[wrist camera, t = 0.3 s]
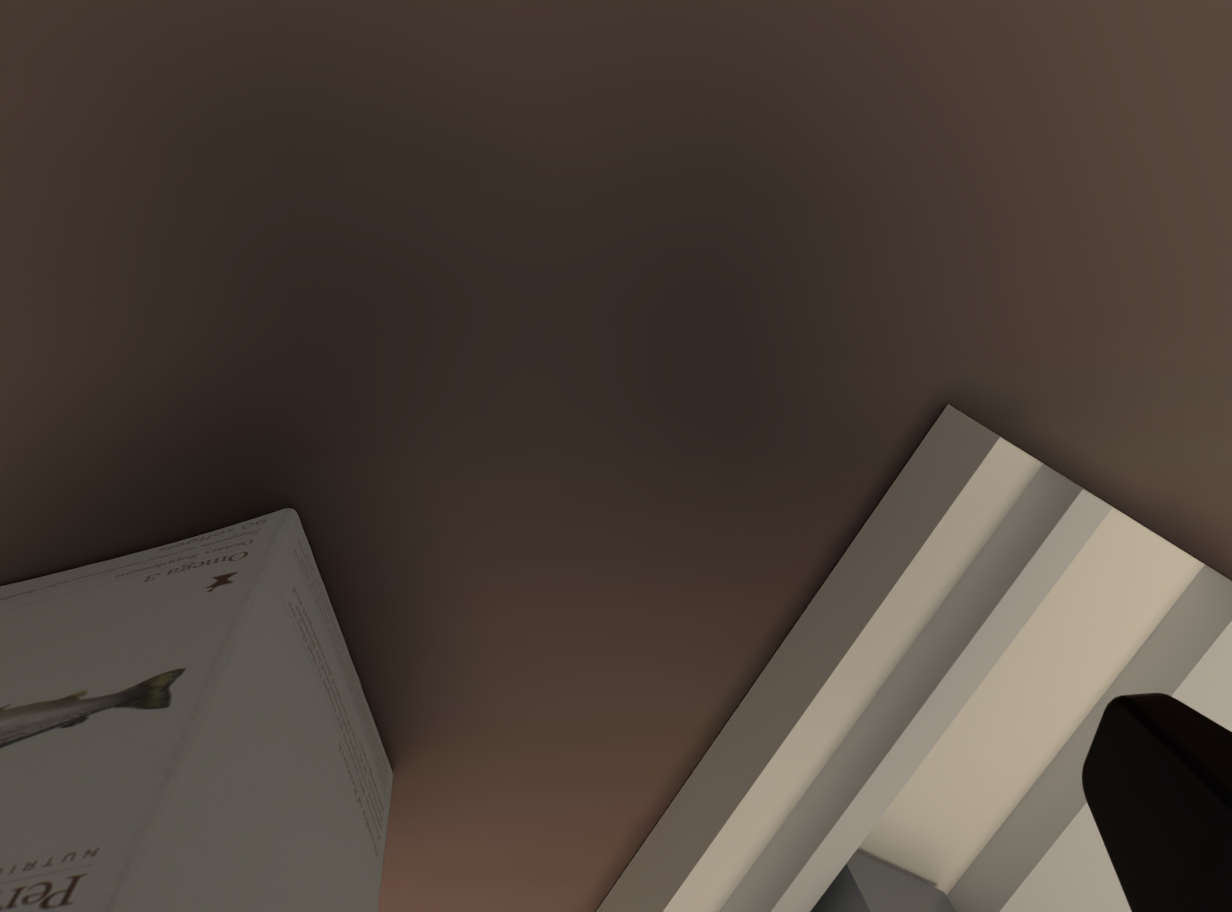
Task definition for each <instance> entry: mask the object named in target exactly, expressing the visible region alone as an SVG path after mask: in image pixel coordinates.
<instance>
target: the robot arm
mask: <svg viewBox="0 0 1232 912" xmlns="http://www.w3.org/2000/svg"><path fill="white" fill-rule="evenodd" d="M1082 786H1083V790H1084V795H1085V798H1086V801H1087V804H1088V806H1089V808H1090V811H1091V813H1092V816H1093V818H1094V821H1095V823H1096V826H1097V828H1098V831H1099V833H1100V835H1101V838H1102V840H1103V843H1104V845H1105V848H1106V850H1107V853H1108V855H1109V858H1110V860H1111V862H1112V865H1113V867H1114V870H1115V872H1116V875H1117V877H1118V880H1119V882H1120V885H1121V887H1122V889H1123V892H1124V894H1125V897H1126V899H1127V902H1128V904H1129V907H1130V909H1131V912H1232V732H1231V731H1229V730H1228V729H1226V728H1224V727H1223V726H1221V725H1219V724H1217V723H1216V722H1214V721H1212V720H1211V719H1209V718H1207V717H1206V716H1204V715H1202V714H1201V713H1199V712H1197V711H1196V710H1194V709H1192V708H1191V707H1189V706H1187V705H1186V704H1184V703H1182V702H1181V701H1179V700H1177V699H1175V698H1173V697H1172V696H1170V695H1167V694H1163V693H1144V694H1131V695H1120V696H1117V697H1115V698H1114V699H1112V700H1111V701H1110V702H1109V703H1108V704H1107V706H1106V708H1105V710H1104V712H1103V715H1102V717H1101V720H1100V722H1099V725H1098V728H1097V730H1096V733H1095V735H1094V738H1093V741H1092V743H1091V746H1090V748H1089V751H1088V753H1087V756H1086V759H1085V761H1084V764H1083V769H1082Z"/></svg>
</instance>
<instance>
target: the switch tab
mask: <svg viewBox="0 0 1232 912" xmlns="http://www.w3.org/2000/svg"><path fill="white" fill-rule="evenodd" d="M810 912H956V911H955V909H954V908H953V906H952V904H951V903H950V901H949V899H948V898H947V896H946V894H945V893H944V892H943V891H941V890H939V889H936V888H934V887H932V886H930V885H928V884H925V883H923V882H921V881H919V880H917V879H915V878H912V877H910V876H908V875H906V874H904V873H902V872H899V871H897V870H895V869H893V868H891V867H888V866H886V865H884V864H882V863H880V862H878V861H875V860H873V859H871V858H869V857H867V856H865V855H862V854H860V853H858V852H856V851H855V852H854V854H853V855H852V856H851V858H850V859H849V860H848V862H847V863H846V864H845V866H844V867H843V868H842V870H841V871H840V872H839V874H838V875H837V876H836V878H835V879H834V880H833V882H832V883H831V884H830V886H829V887H828V888H827V890H826V891H825V892H824V894H823V895H822V896H821V898H820V899H819V900H818V902H817V903H816V905H815V906H814V907H813V909H812V910H811V911H810Z"/></svg>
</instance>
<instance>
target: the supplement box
mask: <svg viewBox="0 0 1232 912" xmlns="http://www.w3.org/2000/svg"><path fill="white" fill-rule="evenodd" d="M392 783H393V772H392V769H391V767H390V764H389V761H388V758H387V755H386V753H385V750H384V747H383V745H382V742H381V739H380V736H379V733H378V730H377V728H376V725H375V722H374V720H373V717H372V714H371V712H370V709H369V706H368V703H367V701H366V698H365V696H364V693H363V690H362V687H361V684H360V681H359V678H358V675H357V673H356V670H355V668H354V665H353V663H352V660H351V657H350V655H349V652H348V649H347V646H346V643H345V640H344V637H343V635H342V632H341V629H340V627H339V624H338V621H337V619H336V616H335V613H334V611H333V608H332V606H331V603H330V600H329V597H328V594H327V591H326V588H325V586H324V583H323V581H322V578H321V576H320V573H319V571H318V568H317V565H316V563H315V560H314V557H313V554H312V551H311V548H310V545H309V543H308V540H307V538H306V535H305V533H304V530H303V528H302V525H301V522H300V519H299V516H298V514H297V512H296V511H295V510H294V509H291V508H285V509H282V510H279V511H276V512H273V513H270V514H267V515H264V516H261V517H257V518H254V519H251V520H248V521H245V522H241V523H238V524H235V525H232V526H229V527H225V528H222V529H219V530H216V531H212V532H209V533H205V534H202V535H198V536H195V537H191V538H188V539H185V540H181V541H178V542H174V543H171V544H167V545H163V546H160V547H156V548H152V549H148V550H145V551H141V552H137V553H133V554H129V555H126V556H122V557H118V558H114V559H111V560H107V561H103V562H98V563H94V564H90V565H86V566H82V567H79V568H75V569H71V570H67V571H63V572H59V573H55V574H51V575H47V576H43V577H39V578H35V579H30V580H26V581H22V582H17V583H13V584H9V585H4V586H0V912H377V910H378V902H379V894H380V886H381V878H382V870H383V860H384V850H385V843H386V835H387V826H388V818H389V810H390V802H391V793H392Z"/></svg>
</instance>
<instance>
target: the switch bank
mask: <svg viewBox="0 0 1232 912" xmlns="http://www.w3.org/2000/svg"><path fill="white" fill-rule="evenodd" d="M1144 693H1163V694H1167V695H1170V696H1172V697H1173V698H1175V699H1177V700H1179V701H1181V702H1182V703H1184V704H1186V705H1187V706H1189V707H1191V708H1192V709H1194V710H1196V711H1197V712H1199V713H1201V714H1202V715H1204V716H1206V717H1207V718H1209V719H1211V720H1212V721H1214V722H1216V723H1217V724H1219V725H1221V726H1223V727H1224V728H1226V729H1228V730H1229V731H1231V732H1232V581H1231V580H1229V579H1228V578H1226V577H1225V576H1223V575H1221V574H1220V573H1218V572H1217V571H1215V570H1213V569H1212V568H1210V567H1208V566H1207V565H1205V564H1204V563H1202V562H1200V561H1199V560H1197V559H1196V558H1194V557H1192V556H1191V555H1189V554H1188V553H1186V552H1184V551H1183V550H1181V549H1180V548H1178V547H1176V546H1175V545H1173V544H1172V543H1170V542H1168V541H1167V540H1165V539H1164V538H1162V537H1160V536H1159V535H1157V534H1156V533H1154V532H1152V531H1151V530H1149V529H1148V528H1146V527H1144V526H1143V525H1141V524H1140V523H1138V522H1136V521H1135V520H1133V519H1132V518H1130V517H1128V516H1127V515H1125V514H1124V513H1122V512H1120V511H1119V510H1117V509H1116V508H1114V507H1112V506H1111V505H1109V504H1108V503H1106V502H1104V501H1103V500H1101V499H1099V498H1098V497H1096V496H1095V495H1093V494H1091V493H1090V492H1088V491H1087V490H1085V489H1083V488H1082V487H1080V486H1079V485H1077V484H1075V483H1074V482H1072V481H1071V480H1069V479H1067V478H1066V477H1064V476H1063V475H1061V474H1059V473H1058V472H1056V471H1055V470H1053V469H1051V468H1050V467H1048V466H1047V465H1045V464H1043V463H1042V462H1040V461H1039V460H1037V459H1035V458H1034V457H1032V456H1031V455H1029V454H1027V453H1026V452H1024V451H1023V450H1021V449H1019V448H1018V447H1016V446H1015V445H1013V444H1011V443H1010V442H1008V441H1007V440H1005V439H1003V438H1002V437H1000V436H999V435H997V434H995V433H994V432H992V431H991V430H989V429H987V428H986V427H984V426H982V425H981V424H979V423H978V422H976V421H974V420H973V419H971V418H970V417H968V416H966V415H965V414H963V413H962V412H960V411H958V410H957V409H955V408H954V407H952V406H950V405H949V404H948V405H947V406H946V408H945V409H944V411H943V412H942V413H941V415H940V416H939V418H938V419H937V421H936V422H935V424H934V425H933V426H932V428H931V429H930V431H929V432H928V434H927V435H926V437H925V438H924V439H923V441H922V442H921V444H920V445H919V447H918V448H917V449H916V451H915V452H914V454H913V455H912V457H911V458H910V460H909V461H908V462H907V464H906V465H905V467H904V468H903V470H902V471H901V473H900V474H899V475H898V477H897V478H896V480H895V481H894V483H893V484H892V486H891V487H890V488H889V490H888V491H887V493H886V494H885V496H884V497H883V499H882V500H881V501H880V503H879V504H878V506H877V507H876V509H875V510H874V512H873V513H872V514H871V516H870V517H869V519H868V520H867V522H866V523H865V524H864V526H863V527H862V529H861V530H860V532H859V533H858V535H857V536H856V537H855V539H854V540H853V542H852V543H851V545H850V546H849V548H848V549H847V550H846V552H845V553H844V555H843V556H842V558H841V559H840V561H839V562H838V563H837V565H836V566H835V568H834V569H833V571H832V572H831V574H830V575H829V576H828V578H827V579H826V581H825V582H824V584H823V585H822V586H821V588H820V589H819V591H818V592H817V594H816V595H815V597H814V598H813V599H812V601H811V602H810V604H809V605H808V607H807V608H806V610H805V611H804V612H803V614H802V615H801V617H800V618H799V620H798V621H797V623H796V624H795V625H794V627H793V628H792V630H791V631H790V633H789V634H788V636H787V637H786V638H785V640H784V641H783V643H782V644H781V646H780V647H779V649H778V650H777V651H776V653H775V654H774V656H773V657H772V659H771V660H770V661H769V663H768V664H767V666H766V667H765V669H764V670H763V672H762V673H761V674H760V676H759V677H758V679H757V680H756V682H755V683H754V685H753V686H752V687H751V689H750V690H749V692H748V693H747V695H746V696H745V698H744V699H743V700H742V702H741V703H740V705H739V706H738V708H737V709H736V711H735V712H734V713H733V715H732V716H731V718H730V719H729V721H728V722H727V724H726V725H725V726H724V728H723V729H722V731H721V732H720V734H719V735H718V736H717V738H716V739H715V741H714V742H713V744H712V745H711V747H710V748H709V749H708V751H707V752H706V754H705V755H704V757H703V758H702V760H701V761H700V762H699V764H698V765H697V767H696V768H695V770H694V771H693V773H692V774H691V775H690V777H689V778H688V780H687V781H686V783H685V784H684V786H683V787H682V788H681V790H680V791H679V793H678V794H677V796H676V797H675V799H674V800H673V801H672V803H671V804H670V806H669V807H668V809H667V810H666V811H665V813H664V814H663V816H662V817H661V819H660V820H659V822H658V823H657V824H656V826H655V827H654V829H653V830H652V832H651V833H650V835H649V836H648V837H647V839H646V840H645V842H644V843H643V845H642V846H641V848H640V849H639V850H638V852H637V853H636V855H635V856H634V858H633V859H632V861H631V862H630V863H629V865H628V866H627V868H626V869H625V871H624V872H623V874H622V875H621V876H620V878H619V879H618V881H617V882H616V884H615V885H614V886H613V888H612V889H611V891H610V892H609V894H608V895H607V897H606V898H605V899H604V901H603V902H602V904H601V905H600V907H599V908H598V910H597V911H596V912H810V911H811V910H812V909H813V907H814V906H815V905H816V903H817V902H818V900H819V899H820V898H821V896H822V895H823V894H824V892H825V891H826V890H827V888H828V887H829V886H830V884H831V883H832V882H833V880H834V879H835V878H836V876H837V875H838V874H839V872H840V871H841V870H842V868H843V867H844V866H845V864H846V863H847V862H848V860H849V859H850V858H851V856H852V855H853V854H854V852H855V851H856V852H858V853H860V854H862V855H865V856H867V857H869V858H871V859H873V860H875V861H878V862H880V863H882V864H884V865H886V866H888V867H891V868H893V869H895V870H897V871H899V872H902V873H904V874H906V875H908V876H910V877H912V878H915V879H917V880H919V881H921V882H923V883H925V884H928V885H930V886H932V887H934V888H936V889H939V890H941V891H943V892H944V893H945V894H946V896H947V898H948V899H949V901H950V903H951V904H952V906H953V908H954V909H955V911H956V912H1131V909H1130V907H1129V904H1128V902H1127V899H1126V897H1125V894H1124V892H1123V889H1122V887H1121V885H1120V882H1119V880H1118V877H1117V875H1116V872H1115V870H1114V867H1113V865H1112V862H1111V860H1110V858H1109V855H1108V853H1107V850H1106V848H1105V845H1104V843H1103V840H1102V838H1101V835H1100V833H1099V831H1098V828H1097V826H1096V823H1095V821H1094V818H1093V816H1092V813H1091V811H1090V808H1089V806H1088V804H1087V801H1086V798H1085V795H1084V790H1083V786H1082V769H1083V764H1084V761H1085V759H1086V756H1087V753H1088V751H1089V748H1090V746H1091V743H1092V741H1093V738H1094V735H1095V733H1096V730H1097V728H1098V725H1099V722H1100V720H1101V717H1102V715H1103V712H1104V710H1105V708H1106V706H1107V704H1108V703H1109V702H1110V701H1111V700H1112V699H1114V698H1115V697H1117V696H1120V695H1131V694H1144Z"/></svg>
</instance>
